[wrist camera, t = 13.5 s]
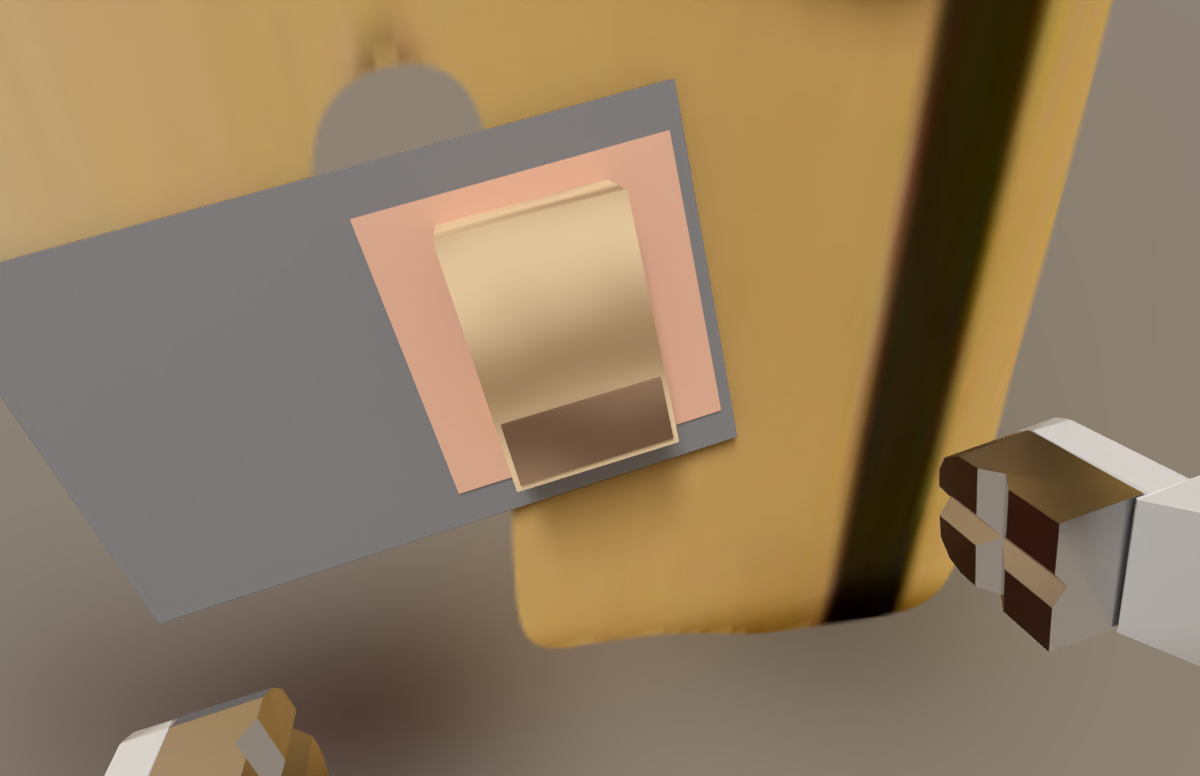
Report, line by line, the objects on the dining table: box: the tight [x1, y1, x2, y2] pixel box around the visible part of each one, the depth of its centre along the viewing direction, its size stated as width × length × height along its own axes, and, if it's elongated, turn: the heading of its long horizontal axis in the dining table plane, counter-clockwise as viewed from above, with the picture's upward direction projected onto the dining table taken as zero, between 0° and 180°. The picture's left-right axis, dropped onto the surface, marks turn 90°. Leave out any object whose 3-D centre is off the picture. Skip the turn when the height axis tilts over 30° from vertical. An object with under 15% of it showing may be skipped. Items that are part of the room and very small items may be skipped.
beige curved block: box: [433, 179, 679, 492], centre depth 23 cm, size 9×6×3 cm, turn 14°
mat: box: [0, 79, 737, 623], centre depth 25 cm, size 24×14×1 cm, turn 104°
